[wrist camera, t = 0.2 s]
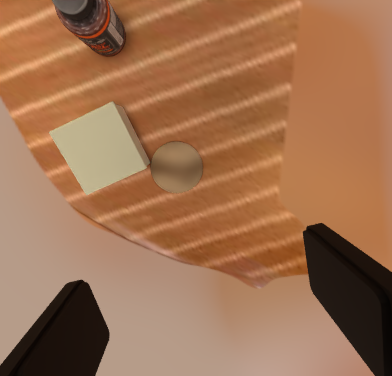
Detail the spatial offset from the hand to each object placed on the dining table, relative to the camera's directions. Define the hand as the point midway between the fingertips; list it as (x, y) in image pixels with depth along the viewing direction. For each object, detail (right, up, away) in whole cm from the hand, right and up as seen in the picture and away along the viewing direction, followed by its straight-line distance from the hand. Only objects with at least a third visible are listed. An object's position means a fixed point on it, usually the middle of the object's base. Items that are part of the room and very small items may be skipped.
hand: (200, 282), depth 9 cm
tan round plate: (-4, +8, +30) cm, 31 cm away
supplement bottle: (-14, +27, +25) cm, 39 cm away
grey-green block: (-15, +11, +29) cm, 34 cm away
